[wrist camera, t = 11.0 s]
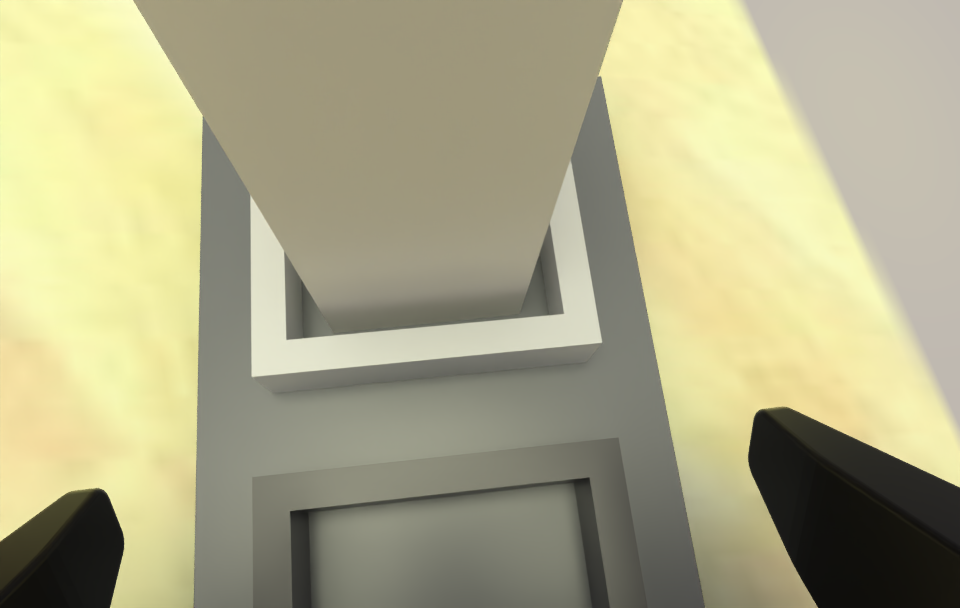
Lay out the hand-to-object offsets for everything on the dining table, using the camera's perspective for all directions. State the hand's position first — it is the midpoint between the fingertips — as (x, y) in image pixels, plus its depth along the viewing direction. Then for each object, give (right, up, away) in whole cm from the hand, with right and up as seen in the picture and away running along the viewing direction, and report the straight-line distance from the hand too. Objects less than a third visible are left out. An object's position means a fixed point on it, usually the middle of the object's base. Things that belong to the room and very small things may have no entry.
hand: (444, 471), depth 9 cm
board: (-1, -1, +9) cm, 9 cm away
